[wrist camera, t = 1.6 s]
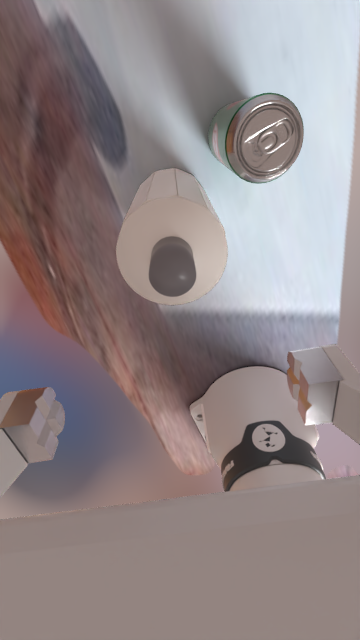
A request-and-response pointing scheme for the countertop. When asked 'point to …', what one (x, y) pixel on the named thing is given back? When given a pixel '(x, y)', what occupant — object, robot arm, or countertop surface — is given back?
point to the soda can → (257, 137)
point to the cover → (171, 240)
